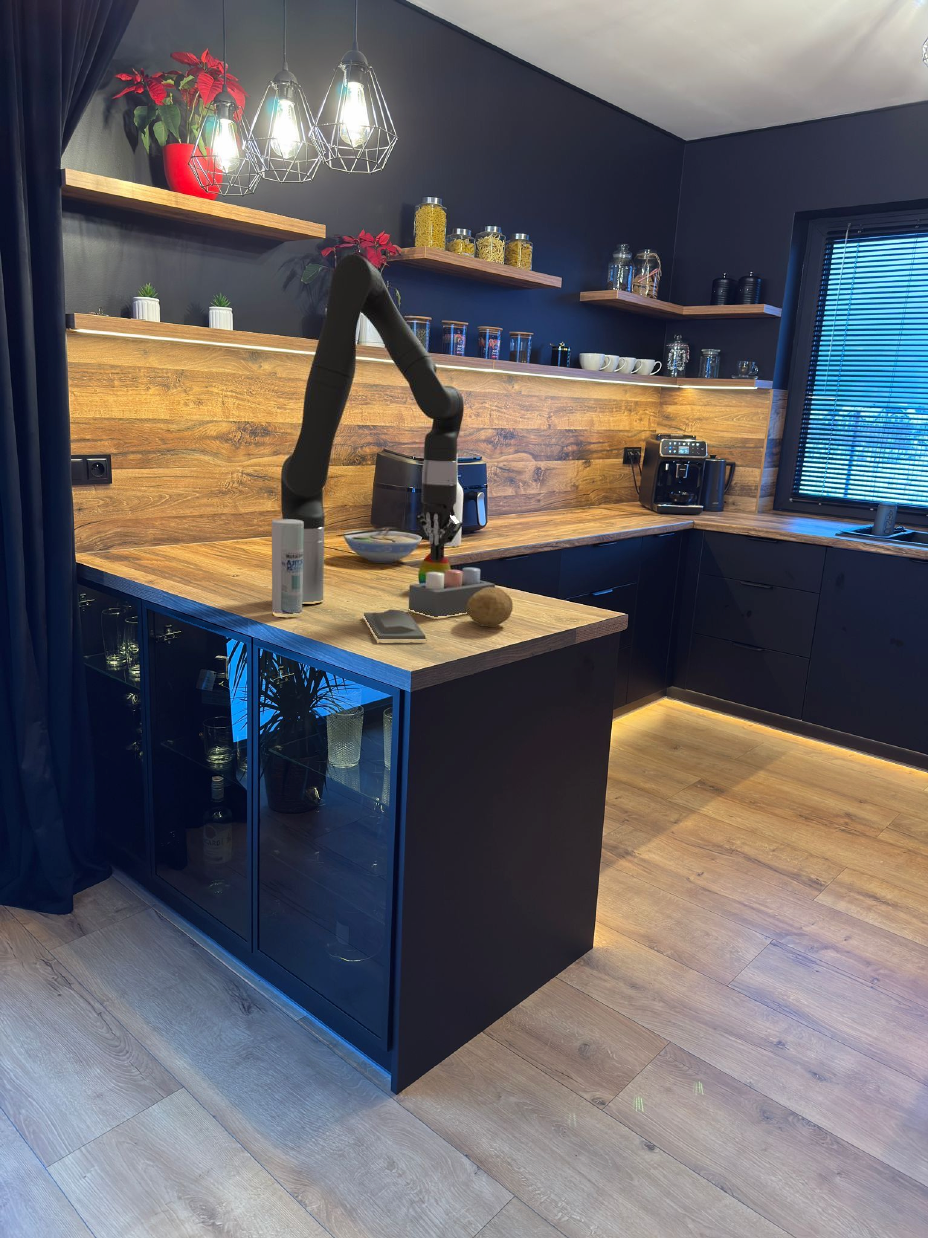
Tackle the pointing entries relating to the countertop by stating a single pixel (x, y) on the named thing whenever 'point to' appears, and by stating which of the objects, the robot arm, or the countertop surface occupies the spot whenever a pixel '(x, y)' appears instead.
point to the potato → (490, 606)
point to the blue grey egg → (471, 576)
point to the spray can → (287, 565)
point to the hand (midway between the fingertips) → (437, 561)
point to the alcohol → (457, 514)
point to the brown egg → (453, 578)
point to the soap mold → (394, 625)
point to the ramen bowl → (382, 544)
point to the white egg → (434, 580)
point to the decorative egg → (432, 567)
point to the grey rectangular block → (443, 598)
